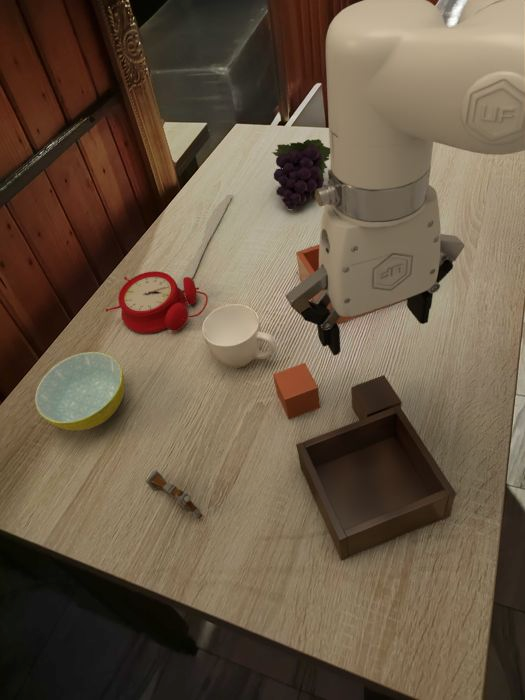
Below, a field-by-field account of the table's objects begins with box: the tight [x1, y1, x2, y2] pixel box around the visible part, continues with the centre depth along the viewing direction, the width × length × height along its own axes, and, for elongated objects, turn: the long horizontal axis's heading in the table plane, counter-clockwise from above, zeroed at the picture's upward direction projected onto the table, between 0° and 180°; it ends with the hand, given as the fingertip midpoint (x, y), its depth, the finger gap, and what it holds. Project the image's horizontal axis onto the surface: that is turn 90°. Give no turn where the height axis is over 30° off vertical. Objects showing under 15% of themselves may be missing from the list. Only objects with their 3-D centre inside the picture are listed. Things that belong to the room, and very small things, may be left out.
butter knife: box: [176, 194, 233, 292], centre depth 95 cm, size 1×27×3 cm
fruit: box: [272, 138, 330, 211], centre depth 97 cm, size 10×11×15 cm
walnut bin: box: [295, 406, 457, 561], centre depth 58 cm, size 13×12×6 cm
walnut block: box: [350, 374, 403, 421], centre depth 65 cm, size 4×4×4 cm
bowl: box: [34, 351, 125, 431], centre depth 71 cm, size 11×12×6 cm
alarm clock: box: [105, 270, 209, 334], centre depth 83 cm, size 10×6×15 cm
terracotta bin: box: [295, 244, 407, 325], centre depth 80 cm, size 13×12×6 cm
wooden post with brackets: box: [145, 469, 204, 520], centre depth 62 cm, size 2×8×4 cm, turn 51°
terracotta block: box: [272, 362, 321, 420], centre depth 68 cm, size 4×4×4 cm
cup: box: [201, 303, 277, 369], centre depth 73 cm, size 8×10×7 cm
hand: (374, 329), depth 55 cm, fingers open, 9 cm apart
